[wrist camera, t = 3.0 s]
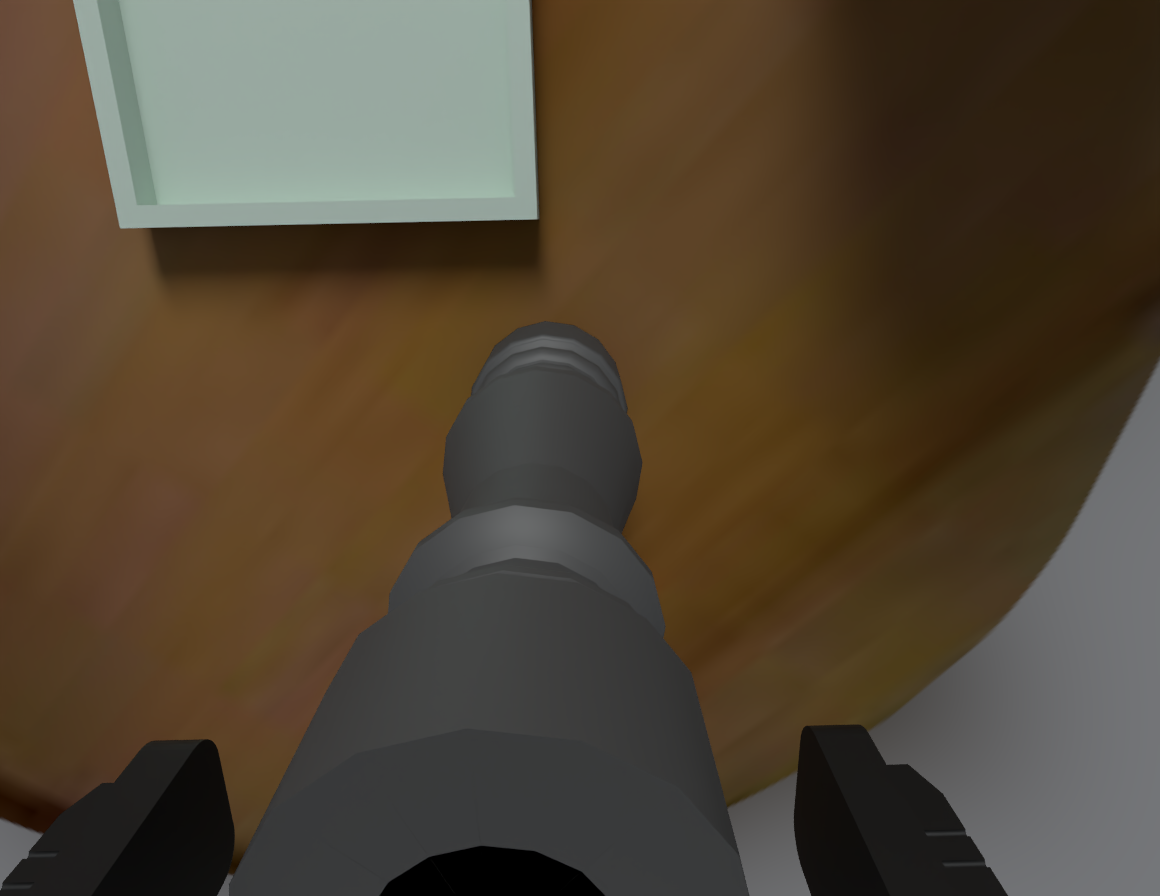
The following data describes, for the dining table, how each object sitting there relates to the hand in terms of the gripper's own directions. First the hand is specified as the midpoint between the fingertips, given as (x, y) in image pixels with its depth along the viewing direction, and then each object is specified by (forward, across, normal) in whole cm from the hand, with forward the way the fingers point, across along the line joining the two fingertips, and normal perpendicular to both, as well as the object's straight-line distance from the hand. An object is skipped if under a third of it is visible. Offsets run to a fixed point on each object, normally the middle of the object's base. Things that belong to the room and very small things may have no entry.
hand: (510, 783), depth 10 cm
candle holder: (+23, 0, 0) cm, 23 cm away
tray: (+23, +8, -15) cm, 28 cm away
